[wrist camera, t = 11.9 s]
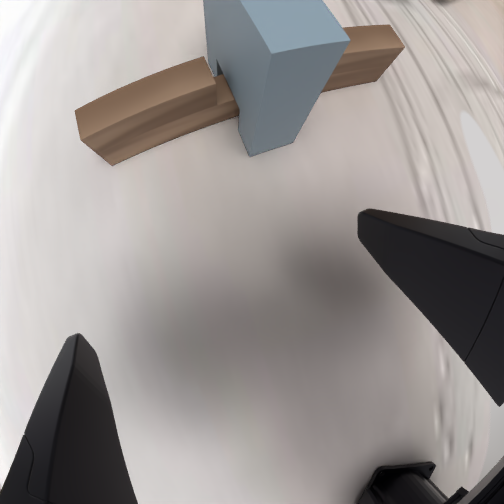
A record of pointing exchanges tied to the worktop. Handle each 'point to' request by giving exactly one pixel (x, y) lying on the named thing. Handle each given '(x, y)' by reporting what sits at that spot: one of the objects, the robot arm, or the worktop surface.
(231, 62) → the rectangular block
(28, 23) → the worktop surface
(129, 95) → the slotted rail
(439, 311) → the robot arm
